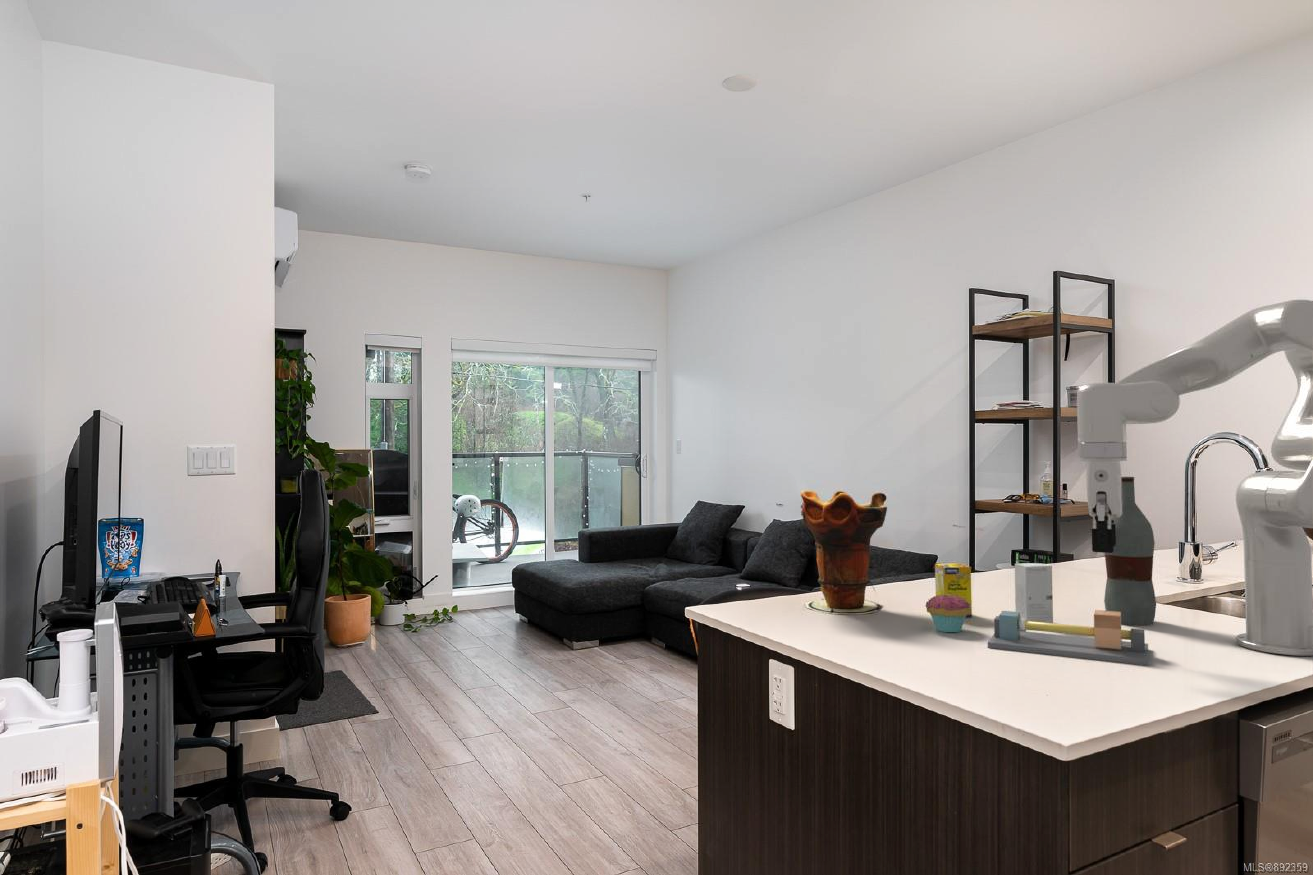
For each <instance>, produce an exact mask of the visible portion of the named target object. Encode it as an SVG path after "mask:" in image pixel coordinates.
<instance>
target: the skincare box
mask: <svg viewBox="0 0 1313 875" xmlns="http://www.w3.org/2000/svg"><path fill="white" fill-rule="evenodd" d="M1014 588H1015V589H1014V596H1015V597H1014V598H1015V600H1014V602H1015V604H1014V607H1015V612H1020V618H1024V619H1026V621H1033V622H1044V623H1054V607H1053V606H1054V600H1053V566H1052V565H1051V564H1046V563H1041V562H1040V563H1038V562H1037V563H1036V562H1035V563H1033V562H1032V563H1031V562H1028V563H1026V562H1025V563H1014Z"/></svg>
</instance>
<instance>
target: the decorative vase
mask: <svg viewBox="0 0 1313 875" xmlns="http://www.w3.org/2000/svg"><path fill="white" fill-rule="evenodd" d="M800 497H801V499H802V504H801V505H800V508H801V511H800V514H801V516H802V524H804V525H805V526H806V527H807V528H808V529H809V531H810V533H811V534H812V535H813V537H814V540H815V543H814V544H815V546H816V564H817V569H818V570H817V571H818V577H819V578H818V579H817V582H818V583H819V584H820V591H821V593H822V595H823V597H824V598H819V599H816V600H811V601H808V602H806V603H804V607H805V608H807V609H810V610H813V611H815V612H819V613H825V614H832V615H840V614H841V615H843V614H845V615H861V614H862V615H865V614H871V613H875V612H878V610H877V609H880V608H881V607H882V606H883V603H877V602H876V601H872V600H868V599H866V598H865V597H866V588H867V586H868V584H871V585H873V584H872V582H871V580H870V579H868V573H869V567H870V549H871V548H870V546H871V539H872V537H873V535H874V534H875V533H876V531H877V530H878V529H880V528H881V527H883V525H884V522H885V520H886V516H887V511H888V506H886V505H884V503H885V502H886V501H887V498H888V497H887V496H886V494H885V493H883V492H875V493H873V494H872V495H871V501H870V502H868V503H863V504H862V503H861V504H860V503H856V501H855V500H854V498H853V497H851V495H849V494H848V493H847V492H846V491H843V490H837V491H835V492H834V493H833V495H832V496H831V498H830V499H829V500H826V501H822V500H821V499H820V498H819V496H818V493H816V492H815V491H812V490H802V491H801V492H800ZM872 588H873V590H874V593H875V595H877V594H876V591H875V587H874V586H872Z"/></svg>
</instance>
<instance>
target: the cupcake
mask: <svg viewBox="0 0 1313 875" xmlns="http://www.w3.org/2000/svg"><path fill="white" fill-rule="evenodd" d="M937 573H938V570H937ZM937 579H938V584H939V590H940V595H937V596H936V595H934V596H932V597H930V598H929V599H927V600H928V601H926V603H925V608H926V612H927V613H929V614H930V616H931V619H932V621H933V624H934V627H935V629H936V631H938V632H941V633H946V632H957V633H961V632H962V629H963V625H964V623H965V620H966V618H967V617H966V616H967V615H970V614H971V607H970V604H969V603H968V602H967V601H966V600H965V599H964V598H961V597H958V596H957V595H956V596H954V595H944V593H943V587H942V582H941V576H940V574H939V573H938V574H937Z"/></svg>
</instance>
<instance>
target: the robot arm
mask: <svg viewBox="0 0 1313 875" xmlns="http://www.w3.org/2000/svg"><path fill="white" fill-rule="evenodd" d="M1283 351H1284V355H1285V358H1286V360H1287V362H1288V364H1289V365H1290V367H1291V369H1292V371H1293V373H1294V376H1295V378H1296V382H1297V391H1296V394H1295V397H1294V399H1293V402H1292V404H1291V405H1290V407H1289V409H1288V410H1287V413H1286V415H1285V417H1284V418H1283V421H1282V422H1281V425H1280V427H1279V428H1278V430H1277V432H1276V434H1275V436H1274V439H1273V440H1272V442H1271V447H1270V454H1271V457H1272V459H1273V461H1275V462H1276V463H1277V464H1278V465H1279V466H1282V467H1284V468H1285V469H1290V470H1296V471H1290V470H1289V471H1288V470H1263V471H1258V472H1254V473H1252V474H1249V475H1248V476H1246V477H1245V478H1244V479H1243V480H1241V481H1240V483H1239V485H1238V486H1237V489H1236V492H1235V502H1236V508H1237V513H1238V516H1239V520H1240V524H1241V529H1242V538H1243V539H1242V540H1243V560H1244V561H1243V563H1244V565H1243V566H1244V568H1243V569H1244V596H1245V597H1244V601H1245V602H1244V603H1245V633H1239V634H1236V636H1235V642H1236V644H1237V645H1239V646H1241V647H1244V648H1246V649H1249V650H1253V651H1258V652H1263V653H1267V654H1268V653H1269V654H1278V655H1285V656H1302V657H1307V656H1308V657H1310V656H1311V657H1312V656H1313V574H1312V573H1313V572H1312V571H1313V568H1312V567H1313V566H1312V562H1313V560H1312V548H1311V544H1310V541H1309V539H1308V535H1307V534H1306V532H1305V529H1307V528H1308V529H1313V300H1310V299H1292V300H1288V301H1287V300H1286V301H1282V302H1279V303H1274V304H1270V305H1263V306H1261V307H1255V308H1253V309H1250V310H1249V311H1247V312H1246V313H1244V314H1242V315H1240V316H1238V317H1236V318H1235V319H1233V320H1232V321H1230V322H1228V323H1227V324H1225V325H1223V326H1221V327H1220V328H1219V329H1216V330H1214V331H1213V332H1211V333H1209V334H1208V335H1207V336H1205V337H1203V338H1201V339H1200V340H1197V341H1195V342H1194V343H1192V344H1190V345H1188V346H1186V347H1184V348H1181V349H1179V350H1177V351H1174V352H1172V353H1170V354H1169V355H1167V356H1165V357H1163V358H1161V359H1158V360H1156V361H1154V362H1152V363H1149V364H1148V365H1146V366H1143V367H1141V368H1140V369H1137V370H1136V371H1134V372H1132V373H1130V374H1128V375H1127V376H1125V377H1124V378H1122V379H1120V380H1118V381H1117V382H1115V383H1114V382H1100V383H1099V382H1098V383H1088V384H1084V385H1081V386H1080V387H1079V388H1078V389H1077V392H1076V410H1077V412H1076V413H1077V416H1076V417H1077V419H1076V420H1077V454H1078V455H1077V457H1078V458H1077V459H1078V460H1077V461H1078V462H1079V461H1080V462H1085V473H1086V474H1085V475H1086V476H1085V477H1086V497H1087V507H1088V508H1087V509H1088V515H1089V516H1091V517H1092V528H1091V550H1092V552H1094V553H1104V554H1105V553H1113V551H1114V546H1115V545H1116V527H1115V524H1114V514H1116V515H1117V518H1119V517H1120V516H1121V515H1122V483H1121V477H1122V470H1121V469H1122V468H1121V462H1124V461H1126V462H1127V461H1128V459H1127V457H1128V456H1127V425H1139V424H1140V425H1145V424H1146V425H1147V424H1158V423H1163V422H1165V421H1167V420H1169V419H1170V418H1172V417H1173V416H1174V415H1175V414H1176V413H1177V411H1178V410H1179V408H1180V404H1181V399H1180V396H1182V395H1185V394H1189V393H1193V392H1198V391H1201V390H1202V391H1203V390H1206V389H1210V388H1213V387H1216V386H1219V385H1221V384H1224V383H1225V382H1228V381H1229V380H1231V379H1233V378H1235V377H1237V375H1239V374H1241V373H1243V372H1244V371H1246V370H1247V369H1249V368H1251V367H1252V366H1255V365H1257V363H1259V362H1261V361H1262V360H1264V359H1267V358H1268V357H1270V356H1271V355H1274V354H1276V353H1279V352H1283ZM1304 528H1305V529H1304Z"/></svg>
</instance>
